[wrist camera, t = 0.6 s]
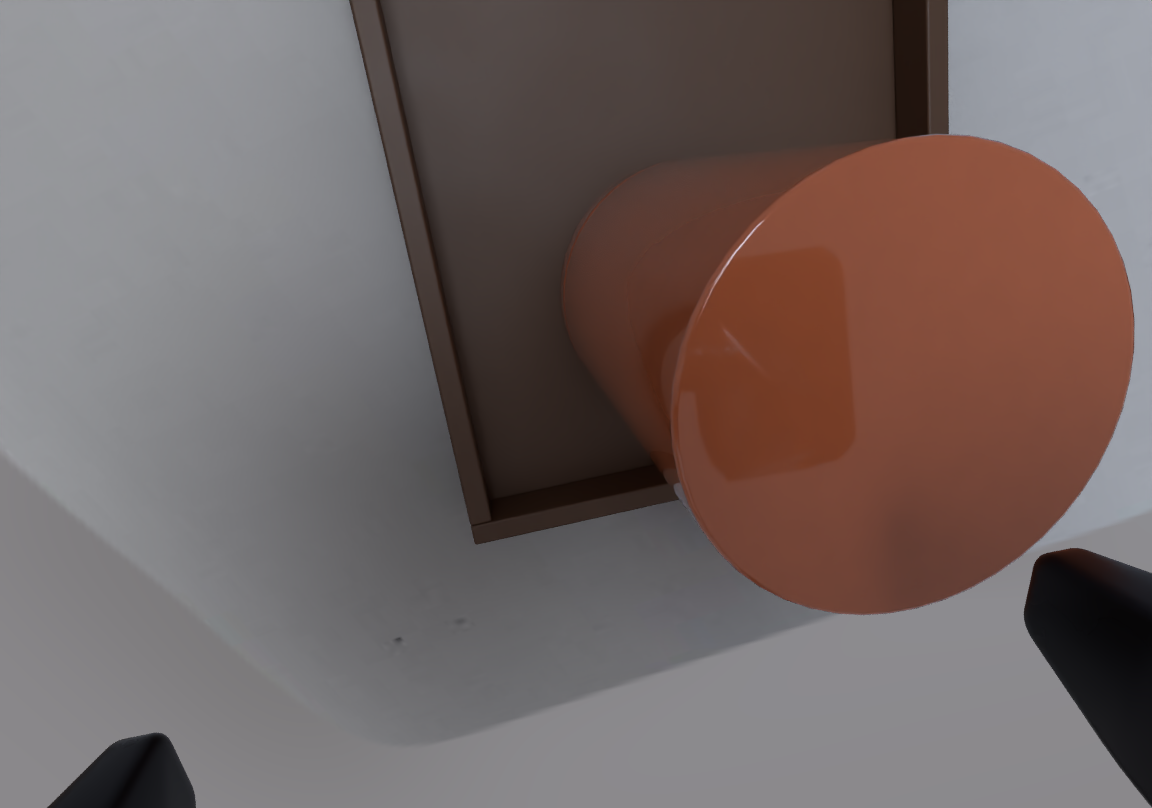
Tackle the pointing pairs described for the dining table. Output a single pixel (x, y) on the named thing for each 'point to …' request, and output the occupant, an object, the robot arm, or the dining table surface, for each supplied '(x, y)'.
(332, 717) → the dining table surface
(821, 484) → the orange canister
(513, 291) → the walnut tray
